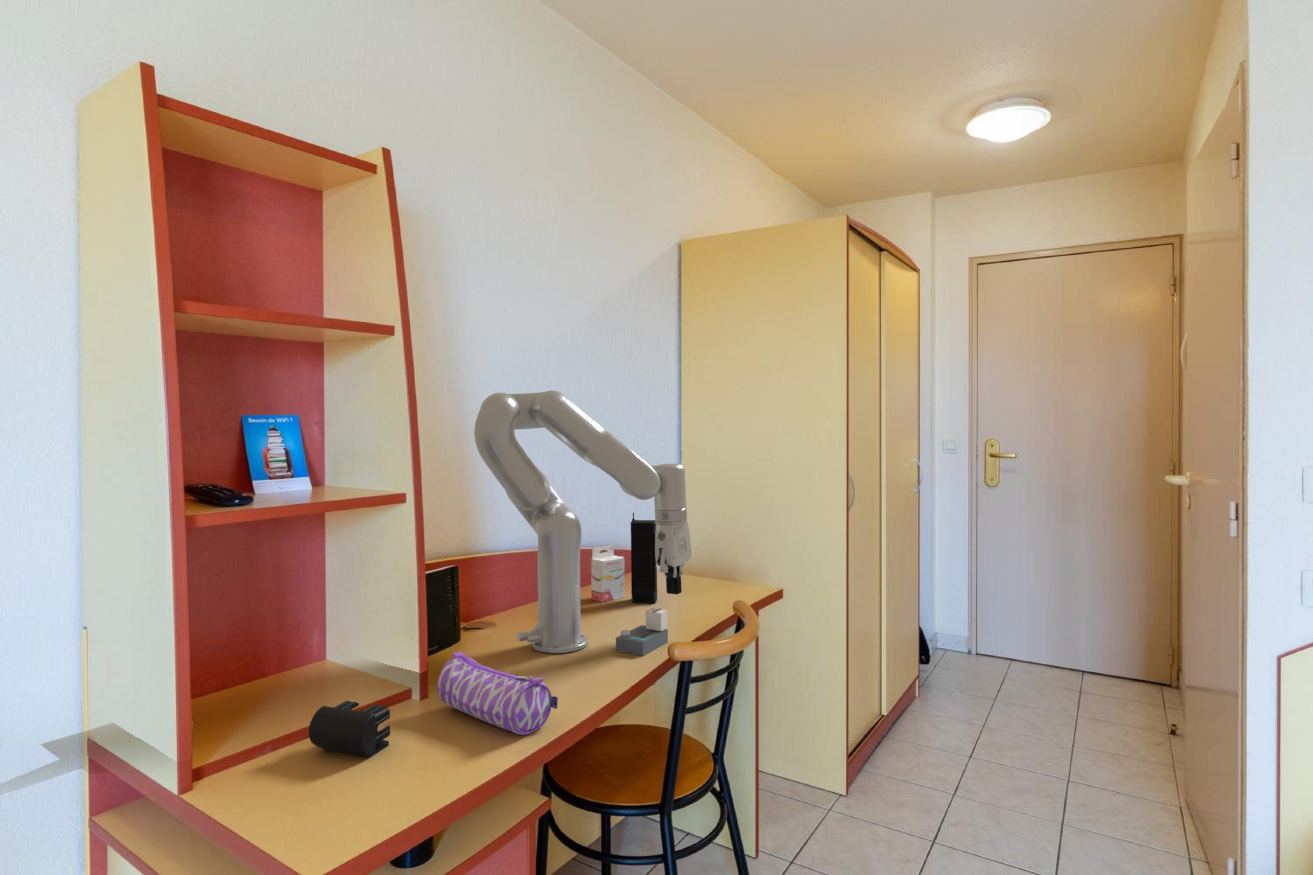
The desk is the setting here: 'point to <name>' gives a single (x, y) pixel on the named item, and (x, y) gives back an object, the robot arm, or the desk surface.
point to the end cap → (350, 729)
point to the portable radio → (643, 562)
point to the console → (640, 640)
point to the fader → (656, 619)
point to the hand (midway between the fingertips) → (674, 592)
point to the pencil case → (495, 695)
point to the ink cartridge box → (606, 574)
